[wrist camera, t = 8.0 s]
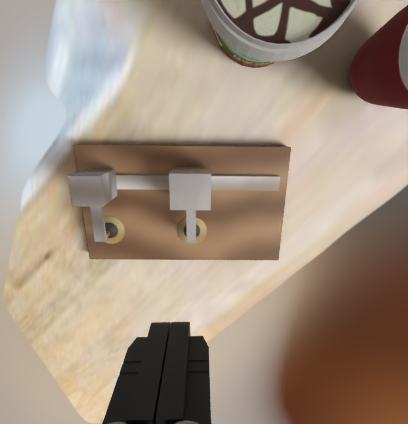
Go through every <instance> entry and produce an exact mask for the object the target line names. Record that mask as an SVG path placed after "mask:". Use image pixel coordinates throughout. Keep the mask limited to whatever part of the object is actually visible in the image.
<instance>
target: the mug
mask: <svg viewBox="0 0 408 424" xmlns="http://www.w3.org/2000/svg"><path fill="white" fill-rule="evenodd" d="M350 83H351V86H352V88H353V90H354V91H355V93H356V94H357V95H358V96H359V97H360V98H361V99H363V100H364V101H366V102H369V103H372V104H376V105H382V106H389V107H395V108H402V109H408V5H407V6H406V7H405V8H403V9H402V10H401V11H400V12H398V13H397V14H396V15H395V16H394V17H393V18H391V19H390V20H389V21H388V22H387V23H386V24H385V25H384V26H383V27H381V28H380V29H379V30H378V31H377V32H376V33H375V34H374V35H373V36H371V37H370V38H369V39H368V40H367V41H366V42H365V43H364V45H363V46H362V47H361V48H360V50H359V51H358V53H357V55H356V56H355V59H354V61H353V63H352V66H351V71H350Z"/></svg>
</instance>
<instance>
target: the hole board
mask: <svg viewBox="0 0 408 424" xmlns="http://www.w3.org/2000/svg"><path fill="white" fill-rule="evenodd" d="M73 147H74V154H75V161H76V168H77V173H75V174H72V175H69V176H68V181H69V187H70V194H71V200H72V206H82V210H83V217H84V223H85V230H86V237H87V244H88V251H89V258H90V259H169V260H278V259H279V250H280V241H281V232H282V223H283V214H284V205H285V196H286V187H287V178H288V170H289V161H290V152H291V147H287V146H194V145H93V144H78V145H73ZM173 167H200V168H210V170H211V210H196V242H187V226H186V210H170V192H169V173H170V172H171V170H172V169H173Z"/></svg>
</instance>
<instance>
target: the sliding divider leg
mask: <svg viewBox="0 0 408 424" xmlns="http://www.w3.org/2000/svg"><path fill="white" fill-rule="evenodd" d="M169 192H170V210H186V226H187V242H196V210H211V170H210V168H200V167H173V169H172V170H171V172H170V173H169Z"/></svg>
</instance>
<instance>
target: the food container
mask: <svg viewBox="0 0 408 424" xmlns="http://www.w3.org/2000/svg"><path fill="white" fill-rule="evenodd" d="M200 1H201V4H202V7H203V9H204V11H205V13H206V16H207V18H208V20H209V21H210V23H211V24H212V26H213V30H214V33H215V35H216V38H217V40H218V43H219V45H220V47H221V48H222V49H223V50H224V52H225V53H226V54H227V55H228V56H229V58H231V59H232V60H234V61H236V62H237V63H239V64H241V65H242V66H247V67H252V68H259V67H264V66H268V65H270V64H273V63H275V62H280V61H287V60H291V59H295V58H298V57H301V56H303V55H306V54H308V53H309V52H311V51H313V50H315V49H316V48H318V47H319V46H321V45H322V44H323V43H324V42H325V41H327V40H328V39H329V38H330V37H331V36H332V35H333V34H334V33H335V32H336V31H337V30H338V29H339V28H340V26H341V25H342V23H343V22H344V21H345V19H346V18H347V16H348V15H349V14H350V12H351V11H352V10H353V8H354V7H355V5H356V4H357V2H358V0H200Z"/></svg>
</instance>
